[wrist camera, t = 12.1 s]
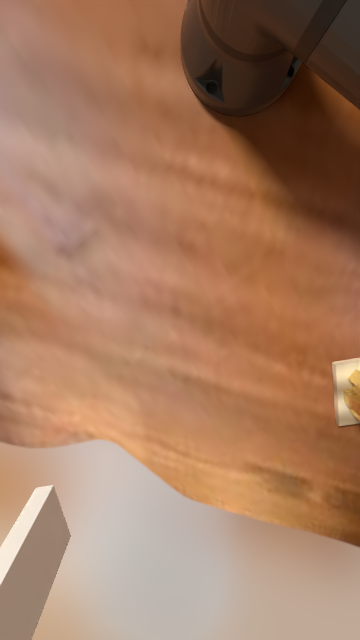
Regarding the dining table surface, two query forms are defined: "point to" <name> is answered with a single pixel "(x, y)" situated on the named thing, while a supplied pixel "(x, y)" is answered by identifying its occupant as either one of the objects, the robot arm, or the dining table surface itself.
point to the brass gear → (353, 394)
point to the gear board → (340, 383)
